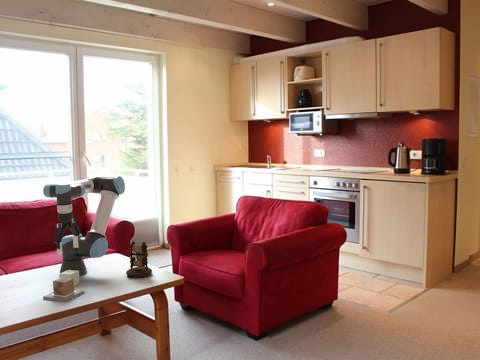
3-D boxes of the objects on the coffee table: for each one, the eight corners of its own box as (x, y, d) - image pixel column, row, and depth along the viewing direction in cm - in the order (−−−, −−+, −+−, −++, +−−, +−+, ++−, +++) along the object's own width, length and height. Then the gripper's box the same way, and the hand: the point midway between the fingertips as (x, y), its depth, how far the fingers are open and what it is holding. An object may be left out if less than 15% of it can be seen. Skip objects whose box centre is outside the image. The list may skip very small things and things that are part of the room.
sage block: (60, 285, 256) (60, 273, 255) (69, 282, 263) (68, 269, 262) (71, 287, 254) (70, 274, 253) (79, 283, 260) (79, 270, 260)
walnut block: (53, 294, 237) (52, 281, 236) (63, 290, 243) (62, 277, 243) (65, 296, 234) (64, 282, 234) (74, 291, 241) (73, 278, 240)
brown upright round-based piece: (156, 272, 279) (155, 239, 277) (145, 279, 265) (144, 245, 263) (133, 270, 283) (132, 238, 281) (121, 278, 268) (120, 243, 266)
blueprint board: (43, 299, 234) (43, 296, 234) (62, 290, 248) (62, 287, 248) (66, 301, 230) (66, 299, 230) (84, 292, 243) (84, 290, 243)
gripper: (55, 217, 236) (58, 258, 239) (85, 207, 260) (88, 245, 262) (43, 216, 238) (46, 257, 241) (73, 207, 262) (76, 244, 265)
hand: (68, 250), depth 252 cm, fingers open, 13 cm apart
